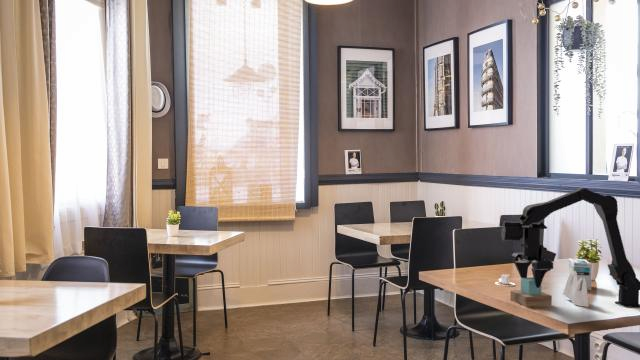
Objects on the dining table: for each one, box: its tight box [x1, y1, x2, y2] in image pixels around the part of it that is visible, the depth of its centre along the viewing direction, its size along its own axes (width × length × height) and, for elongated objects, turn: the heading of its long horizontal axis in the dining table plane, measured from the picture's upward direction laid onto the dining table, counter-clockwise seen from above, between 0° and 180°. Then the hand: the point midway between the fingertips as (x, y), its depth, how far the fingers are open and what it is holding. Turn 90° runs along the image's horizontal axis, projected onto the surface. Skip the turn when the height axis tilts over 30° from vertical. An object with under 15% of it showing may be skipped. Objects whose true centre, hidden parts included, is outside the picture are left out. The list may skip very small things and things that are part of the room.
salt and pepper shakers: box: [562, 271, 589, 308], centre depth 220 cm, size 12×4×11 cm, turn 4°
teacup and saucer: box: [494, 273, 516, 287], centre depth 252 cm, size 9×8×4 cm
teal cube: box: [520, 277, 543, 295], centre depth 219 cm, size 5×5×5 cm
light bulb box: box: [568, 258, 592, 291], centre depth 246 cm, size 11×7×11 cm, turn 168°
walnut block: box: [509, 289, 553, 308], centre depth 219 cm, size 10×10×4 cm
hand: (531, 284), depth 219 cm, fingers open, 9 cm apart
